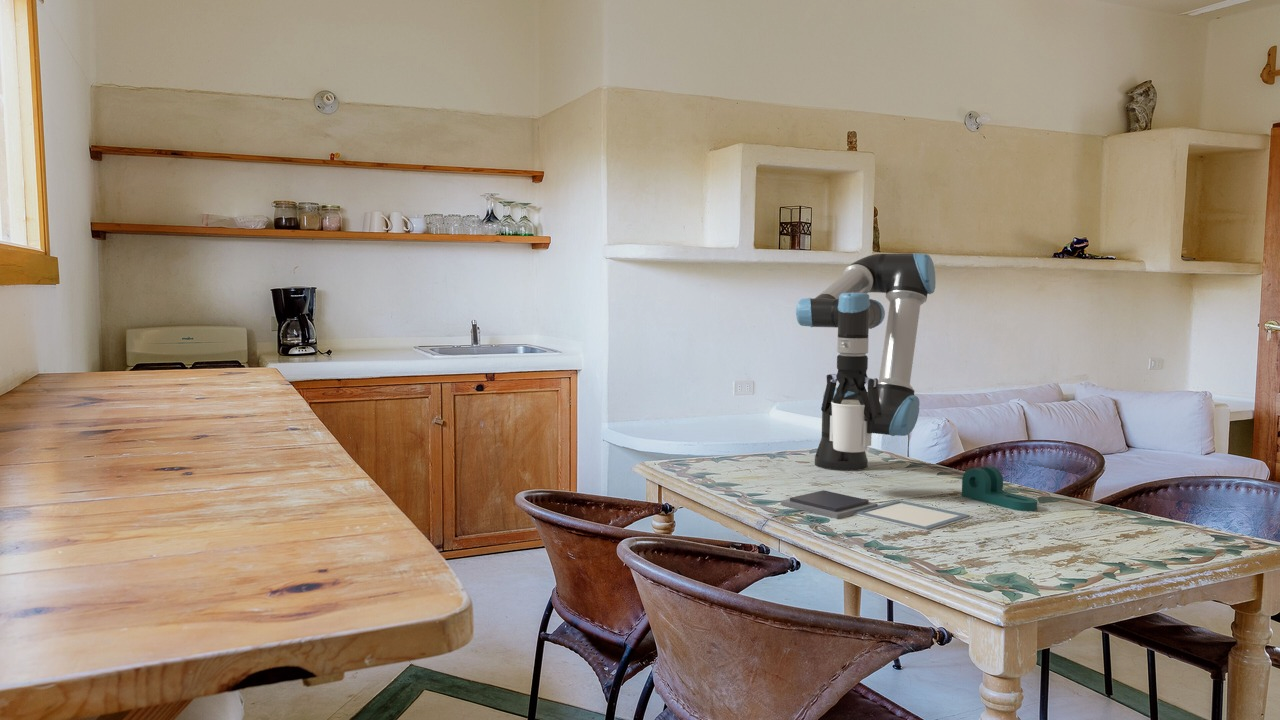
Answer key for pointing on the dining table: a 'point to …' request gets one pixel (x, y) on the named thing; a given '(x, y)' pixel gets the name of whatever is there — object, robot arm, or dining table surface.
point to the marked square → (913, 515)
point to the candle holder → (848, 426)
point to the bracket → (993, 490)
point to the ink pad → (828, 504)
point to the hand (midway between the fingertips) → (850, 443)
